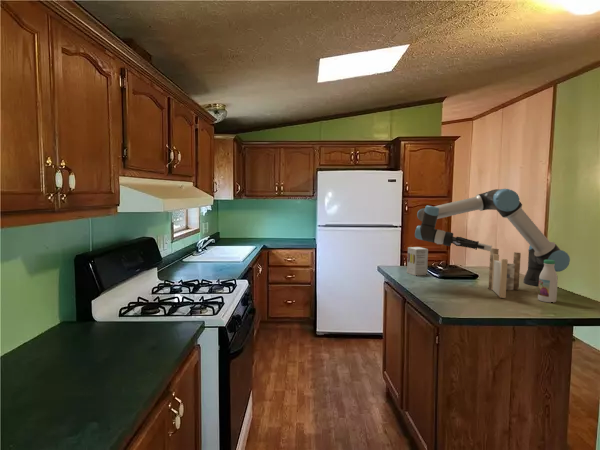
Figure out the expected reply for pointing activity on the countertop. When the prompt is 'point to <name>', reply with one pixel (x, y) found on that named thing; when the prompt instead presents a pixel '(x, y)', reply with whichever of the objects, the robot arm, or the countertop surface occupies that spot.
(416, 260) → the supplement box
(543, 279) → the milk bottle
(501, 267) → the gate
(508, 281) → the gate post and fence
